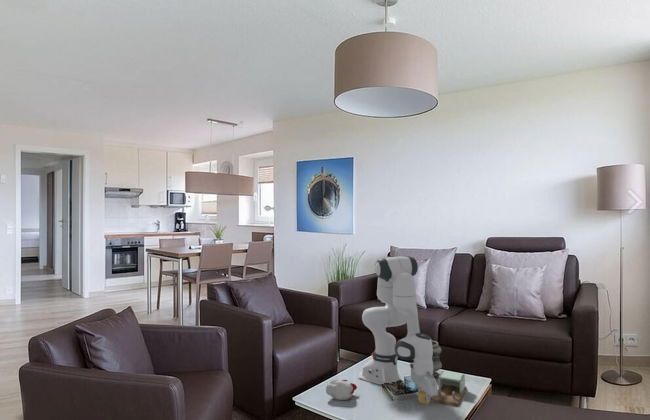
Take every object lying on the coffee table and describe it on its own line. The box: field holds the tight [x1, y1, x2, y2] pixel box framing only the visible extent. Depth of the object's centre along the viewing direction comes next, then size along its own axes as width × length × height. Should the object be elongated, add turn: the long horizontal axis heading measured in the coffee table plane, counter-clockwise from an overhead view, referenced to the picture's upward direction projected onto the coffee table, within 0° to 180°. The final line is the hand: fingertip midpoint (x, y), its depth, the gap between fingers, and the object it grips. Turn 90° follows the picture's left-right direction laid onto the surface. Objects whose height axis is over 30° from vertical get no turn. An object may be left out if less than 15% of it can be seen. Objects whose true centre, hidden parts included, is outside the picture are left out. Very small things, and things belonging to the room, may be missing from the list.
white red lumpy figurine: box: [325, 378, 358, 401], centre depth 205 cm, size 9×11×15 cm
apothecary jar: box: [431, 339, 443, 379], centre depth 233 cm, size 12×12×18 cm
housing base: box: [431, 384, 467, 407], centre depth 206 cm, size 12×22×4 cm, turn 151°
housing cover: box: [437, 370, 466, 393], centre depth 210 cm, size 11×9×6 cm
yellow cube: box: [418, 390, 430, 405], centre depth 199 cm, size 4×4×4 cm
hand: (424, 398), depth 199 cm, fingers closed on yellow cube, 6 cm apart
